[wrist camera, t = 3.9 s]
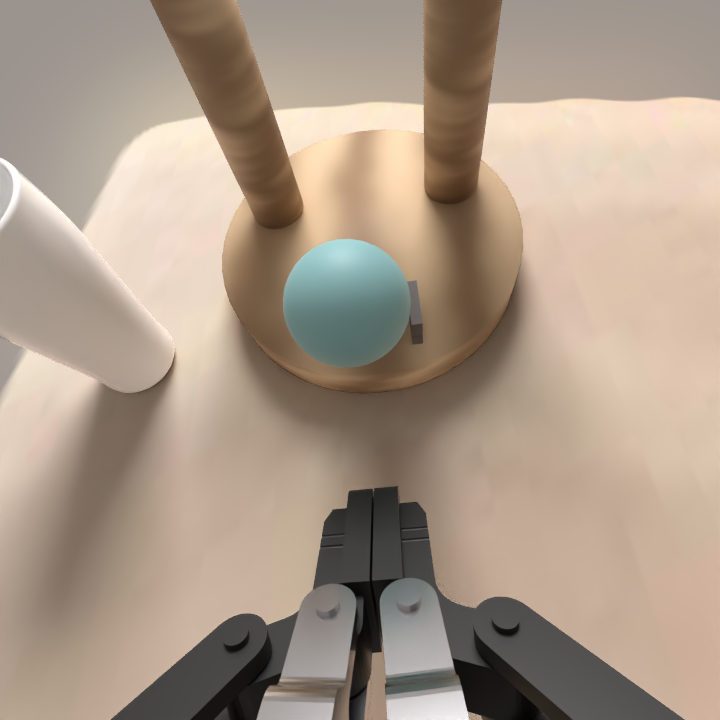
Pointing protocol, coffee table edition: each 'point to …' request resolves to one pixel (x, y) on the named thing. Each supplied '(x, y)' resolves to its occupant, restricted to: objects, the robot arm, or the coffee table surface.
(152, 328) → the drinking glass
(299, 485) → the coffee table surface
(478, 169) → the stool
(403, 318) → the teal capsule cylinder
